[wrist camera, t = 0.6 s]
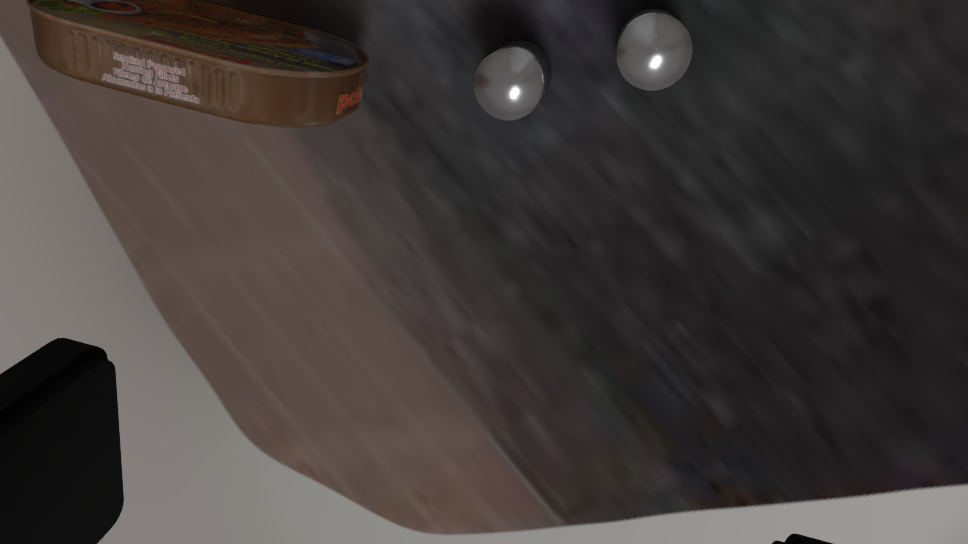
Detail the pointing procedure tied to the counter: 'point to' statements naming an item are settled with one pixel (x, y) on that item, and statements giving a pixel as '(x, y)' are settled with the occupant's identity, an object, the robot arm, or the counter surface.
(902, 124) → the counter surface
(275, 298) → the counter surface
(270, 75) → the tin
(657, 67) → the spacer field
